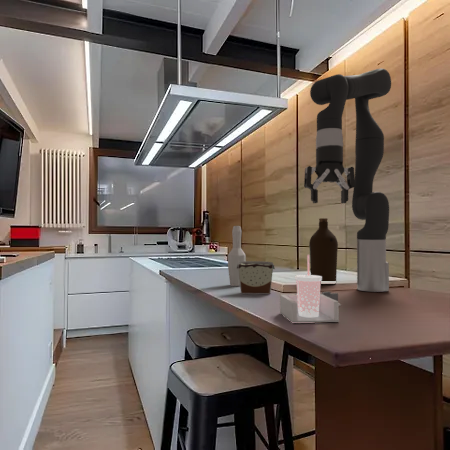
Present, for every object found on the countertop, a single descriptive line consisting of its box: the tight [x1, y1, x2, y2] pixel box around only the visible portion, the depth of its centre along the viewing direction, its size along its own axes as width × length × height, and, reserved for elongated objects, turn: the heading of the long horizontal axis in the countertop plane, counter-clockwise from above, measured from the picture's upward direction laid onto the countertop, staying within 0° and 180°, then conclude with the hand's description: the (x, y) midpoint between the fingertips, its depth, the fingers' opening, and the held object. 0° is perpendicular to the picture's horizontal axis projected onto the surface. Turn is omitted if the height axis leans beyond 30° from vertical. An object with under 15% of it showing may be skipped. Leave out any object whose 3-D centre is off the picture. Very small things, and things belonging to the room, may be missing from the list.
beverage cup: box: [294, 254, 322, 317], centre depth 86 cm, size 6×6×14 cm
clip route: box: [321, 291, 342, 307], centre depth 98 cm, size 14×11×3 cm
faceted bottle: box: [227, 225, 247, 287], centre depth 138 cm, size 6×6×22 cm
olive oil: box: [308, 217, 339, 282], centre depth 144 cm, size 11×11×25 cm
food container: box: [236, 260, 276, 295], centre depth 122 cm, size 12×6×10 cm, turn 84°
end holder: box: [279, 293, 340, 323], centre depth 86 cm, size 10×10×5 cm
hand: (329, 203), depth 107 cm, fingers open, 8 cm apart
